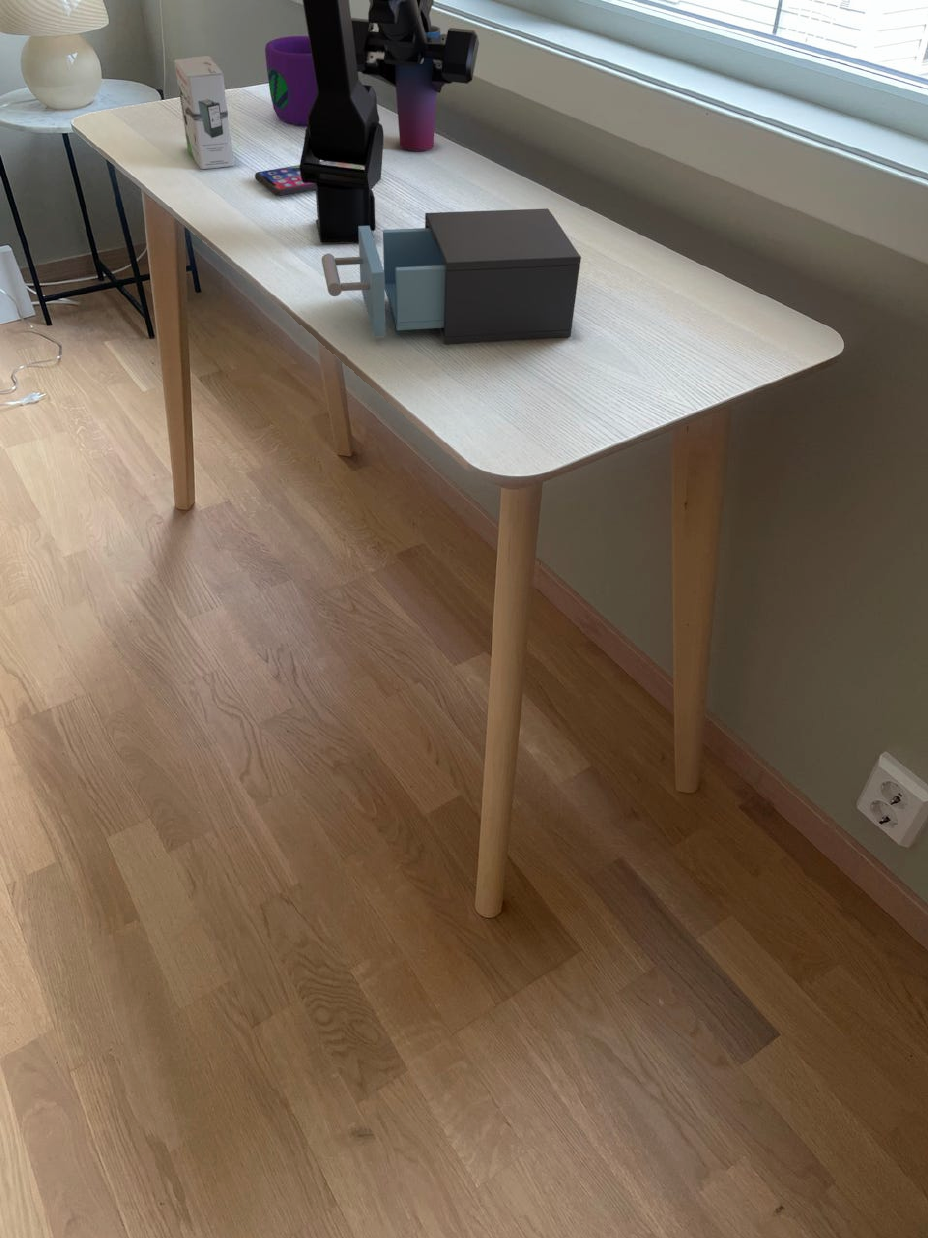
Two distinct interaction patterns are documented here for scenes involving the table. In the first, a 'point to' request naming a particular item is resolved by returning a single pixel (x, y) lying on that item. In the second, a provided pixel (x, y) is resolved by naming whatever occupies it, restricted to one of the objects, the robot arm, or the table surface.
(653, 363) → the table surface
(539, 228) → the dark grey drawer cabinet
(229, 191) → the table surface
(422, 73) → the cup
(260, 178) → the smartphone
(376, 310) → the light blue drawer
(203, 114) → the ink box
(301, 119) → the mug
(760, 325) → the table surface
